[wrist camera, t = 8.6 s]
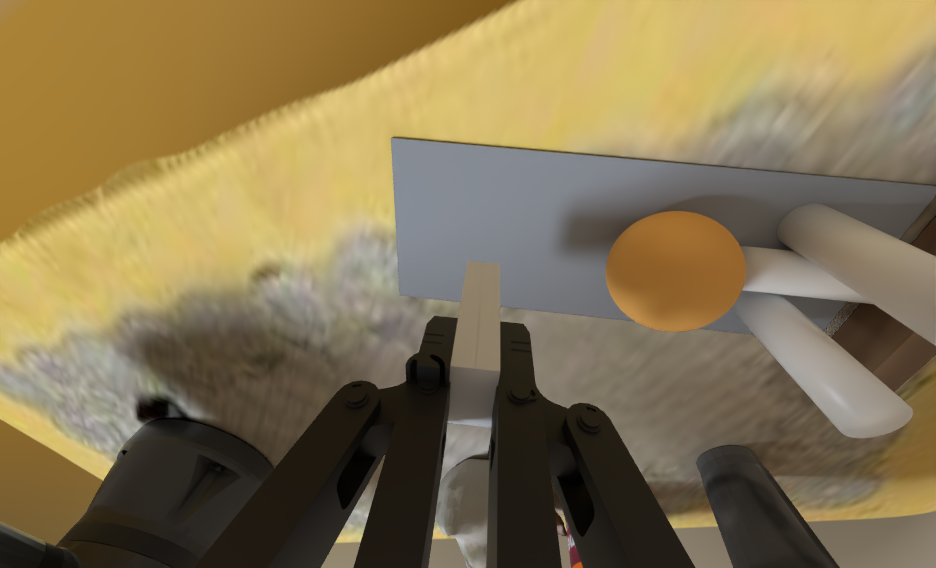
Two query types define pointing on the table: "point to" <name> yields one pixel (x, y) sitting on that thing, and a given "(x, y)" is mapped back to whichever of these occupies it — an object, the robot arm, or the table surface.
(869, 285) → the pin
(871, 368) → the back wall
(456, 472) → the ceramic sculpture
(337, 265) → the table surface
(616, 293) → the ball
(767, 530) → the beverage cup
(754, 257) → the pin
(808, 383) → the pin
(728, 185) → the lane mat
